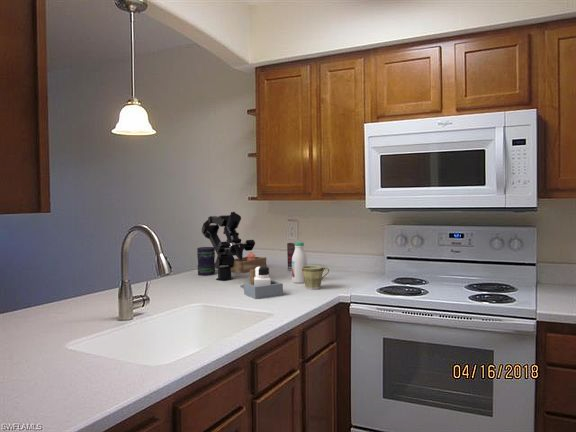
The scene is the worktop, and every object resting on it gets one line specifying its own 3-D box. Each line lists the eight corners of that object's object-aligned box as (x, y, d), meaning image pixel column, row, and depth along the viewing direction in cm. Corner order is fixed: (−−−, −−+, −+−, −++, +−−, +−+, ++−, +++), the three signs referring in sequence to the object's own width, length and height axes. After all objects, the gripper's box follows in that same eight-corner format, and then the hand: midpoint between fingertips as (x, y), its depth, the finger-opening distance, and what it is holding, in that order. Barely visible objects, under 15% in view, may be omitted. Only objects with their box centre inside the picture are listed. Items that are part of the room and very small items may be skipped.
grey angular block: (244, 294, 202) (243, 283, 202) (270, 290, 209) (270, 279, 209) (255, 298, 193) (255, 287, 192) (282, 295, 199) (282, 283, 199)
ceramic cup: (305, 291, 207) (304, 269, 207) (300, 286, 217) (299, 265, 216) (332, 289, 210) (332, 267, 209) (326, 285, 220) (326, 264, 219)
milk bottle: (309, 281, 231) (309, 241, 230) (303, 283, 224) (303, 243, 223) (295, 280, 234) (295, 241, 234) (289, 282, 227) (288, 242, 227)
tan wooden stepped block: (245, 289, 208) (244, 269, 207) (260, 287, 212) (260, 268, 211) (249, 291, 204) (249, 271, 203) (265, 289, 208) (265, 269, 207)
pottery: (241, 272, 261) (241, 255, 261) (229, 271, 267) (228, 254, 266) (261, 268, 276) (260, 252, 276) (249, 267, 282) (248, 251, 281)
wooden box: (224, 271, 267) (223, 260, 267) (249, 265, 286) (249, 256, 286) (242, 273, 259) (242, 262, 259) (267, 267, 278) (267, 257, 278)
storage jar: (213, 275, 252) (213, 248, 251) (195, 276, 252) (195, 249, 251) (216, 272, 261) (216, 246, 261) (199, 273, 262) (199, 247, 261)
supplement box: (303, 270, 264) (303, 243, 264) (298, 271, 261) (297, 243, 260) (292, 269, 270) (292, 242, 270) (287, 270, 267) (286, 243, 266)
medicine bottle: (270, 291, 207) (269, 265, 207) (270, 295, 200) (270, 267, 199) (254, 292, 206) (253, 265, 206) (254, 295, 199) (254, 268, 199)
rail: (240, 286, 219) (240, 285, 219) (244, 286, 221) (244, 284, 221) (247, 289, 212) (247, 288, 212) (251, 288, 214) (251, 287, 214)
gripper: (244, 244, 239) (253, 267, 230) (210, 246, 229) (218, 271, 220) (250, 230, 232) (260, 254, 223) (215, 232, 222) (224, 257, 213)
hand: (241, 259), depth 220 cm, fingers closed
